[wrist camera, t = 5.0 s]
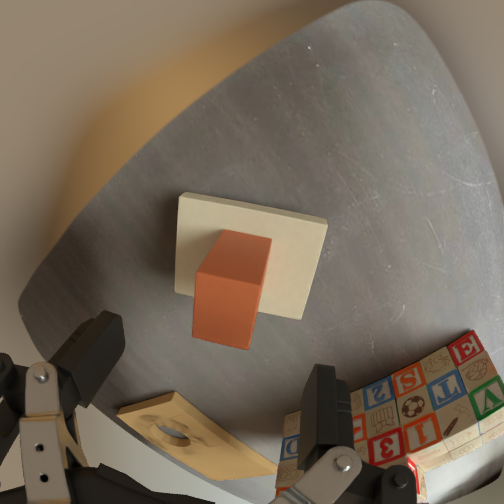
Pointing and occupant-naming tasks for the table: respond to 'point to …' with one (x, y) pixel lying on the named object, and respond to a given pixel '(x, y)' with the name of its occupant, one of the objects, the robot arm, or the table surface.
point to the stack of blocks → (418, 414)
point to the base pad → (195, 438)
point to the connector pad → (258, 220)
